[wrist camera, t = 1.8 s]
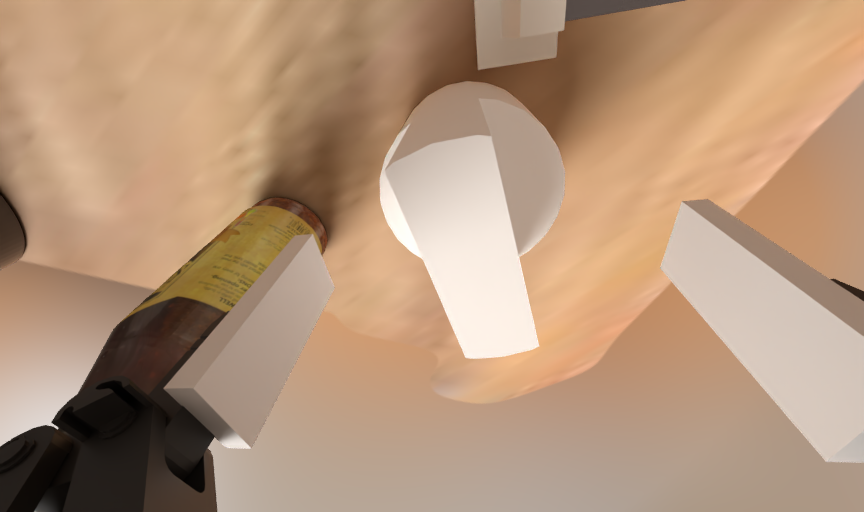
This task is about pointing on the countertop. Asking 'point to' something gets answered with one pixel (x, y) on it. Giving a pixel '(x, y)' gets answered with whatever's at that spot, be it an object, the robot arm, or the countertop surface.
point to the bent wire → (606, 7)
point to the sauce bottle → (201, 293)
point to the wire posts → (517, 30)
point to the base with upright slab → (475, 207)
